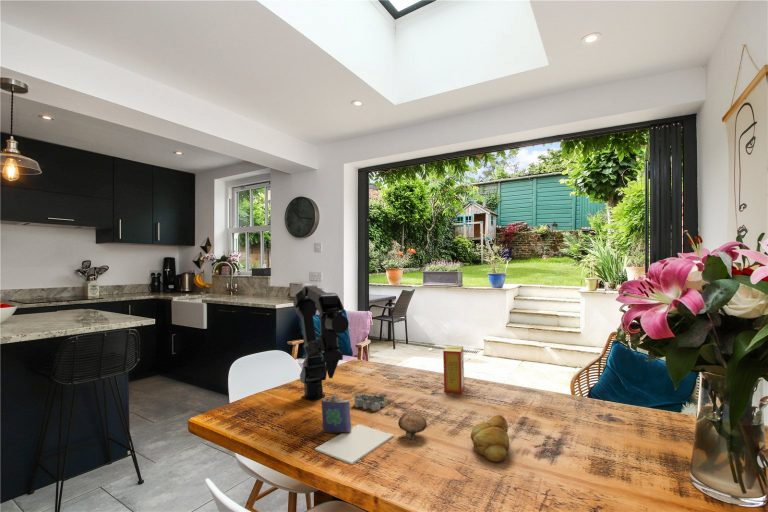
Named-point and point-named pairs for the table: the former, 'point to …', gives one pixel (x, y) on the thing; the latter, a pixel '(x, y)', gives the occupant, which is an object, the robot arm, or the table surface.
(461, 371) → the baking soda box
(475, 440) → the bread roll
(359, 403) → the egg carton
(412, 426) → the mushroom
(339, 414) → the flask
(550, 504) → the table surface
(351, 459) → the serving board
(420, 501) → the table surface
